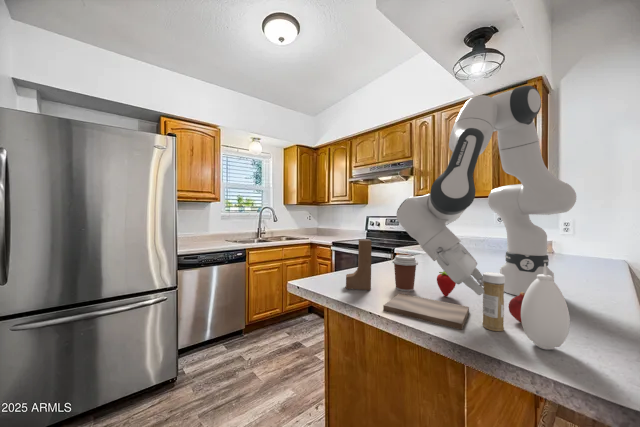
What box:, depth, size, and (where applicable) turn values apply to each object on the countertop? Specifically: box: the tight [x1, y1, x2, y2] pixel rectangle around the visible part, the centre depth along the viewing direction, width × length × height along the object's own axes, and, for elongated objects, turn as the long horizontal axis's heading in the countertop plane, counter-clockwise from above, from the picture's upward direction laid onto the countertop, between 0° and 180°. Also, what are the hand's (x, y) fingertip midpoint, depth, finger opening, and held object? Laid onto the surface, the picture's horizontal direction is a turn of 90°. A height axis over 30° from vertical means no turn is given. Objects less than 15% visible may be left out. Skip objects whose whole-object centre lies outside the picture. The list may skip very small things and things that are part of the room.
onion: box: [508, 292, 525, 324], centre depth 67 cm, size 6×6×8 cm
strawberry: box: [436, 270, 457, 298], centre depth 88 cm, size 6×8×10 cm
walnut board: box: [382, 292, 470, 331], centre depth 74 cm, size 14×20×2 cm
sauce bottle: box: [521, 263, 571, 351], centre depth 55 cm, size 8×8×18 cm
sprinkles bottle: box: [481, 271, 505, 332], centre depth 64 cm, size 5×5×14 cm
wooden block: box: [345, 238, 372, 291], centre depth 96 cm, size 9×4×18 cm, turn 84°
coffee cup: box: [391, 254, 419, 292], centre depth 96 cm, size 9×9×12 cm
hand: (483, 288), depth 65 cm, fingers open, 8 cm apart
